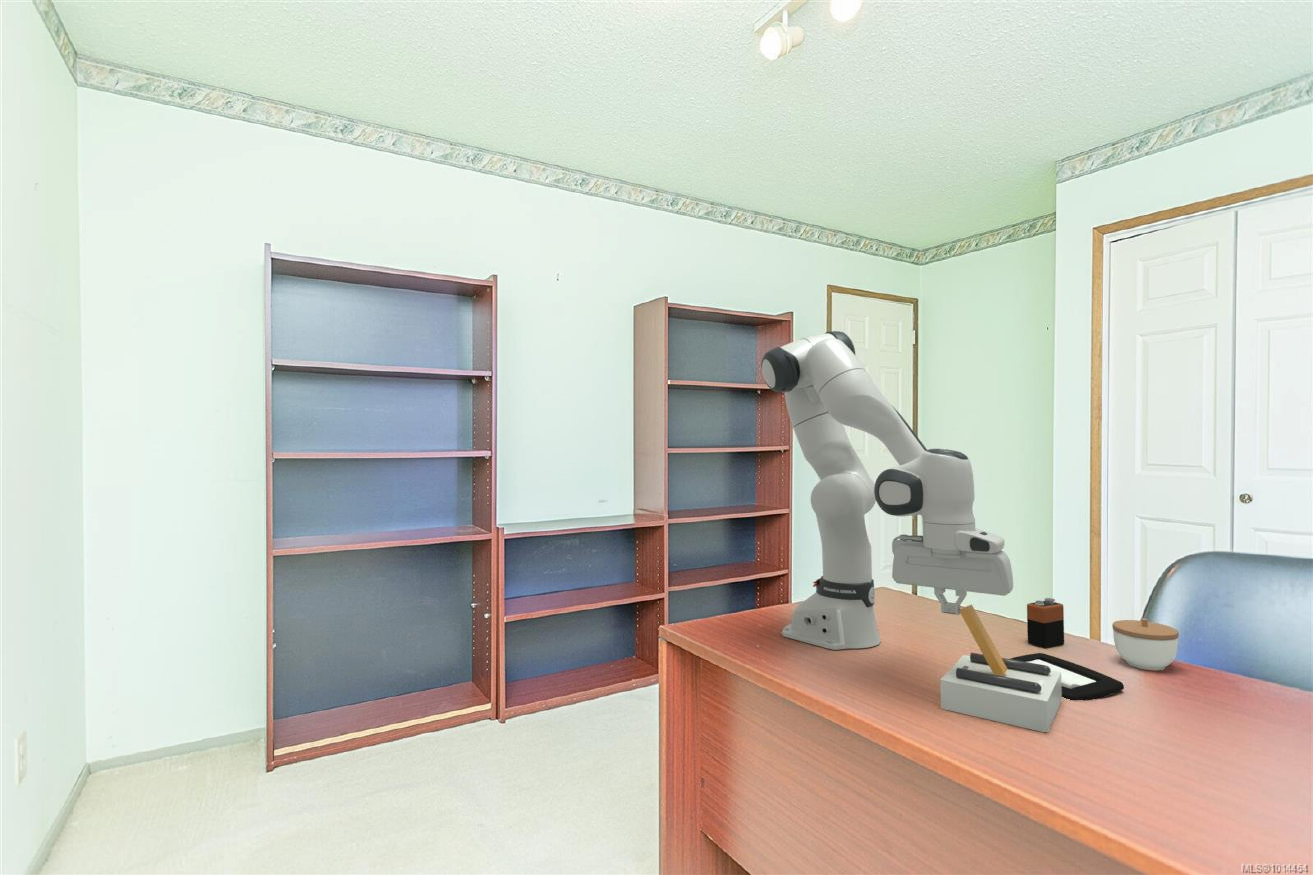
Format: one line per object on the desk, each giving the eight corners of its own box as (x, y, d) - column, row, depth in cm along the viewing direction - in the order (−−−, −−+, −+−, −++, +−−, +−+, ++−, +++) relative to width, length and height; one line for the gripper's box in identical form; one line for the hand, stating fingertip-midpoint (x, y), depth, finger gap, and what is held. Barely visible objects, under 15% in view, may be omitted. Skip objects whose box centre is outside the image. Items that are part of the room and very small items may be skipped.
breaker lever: (995, 676, 113) (959, 610, 116) (998, 671, 115) (963, 607, 119) (1004, 674, 112) (967, 607, 115) (1007, 669, 114) (971, 604, 118)
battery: (1065, 644, 145) (1064, 600, 145) (1044, 649, 142) (1043, 603, 142) (1047, 639, 149) (1046, 596, 149) (1026, 643, 146) (1025, 599, 146)
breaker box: (941, 708, 112) (940, 670, 112) (964, 680, 125) (963, 646, 125) (1048, 733, 102) (1047, 691, 102) (1061, 700, 115) (1060, 663, 115)
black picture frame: (985, 659, 132) (1039, 645, 136) (987, 673, 132) (1041, 659, 136) (1071, 695, 113) (1132, 678, 117) (1073, 711, 113) (1133, 694, 117)
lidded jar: (1138, 654, 138) (1137, 610, 138) (1193, 670, 128) (1191, 623, 128) (1100, 660, 135) (1099, 615, 135) (1153, 677, 125) (1152, 628, 125)
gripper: (885, 535, 123) (887, 608, 123) (1006, 544, 110) (1008, 626, 110) (897, 531, 128) (899, 602, 127) (1014, 539, 115) (1016, 617, 115)
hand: (950, 613), depth 118 cm, fingers closed
